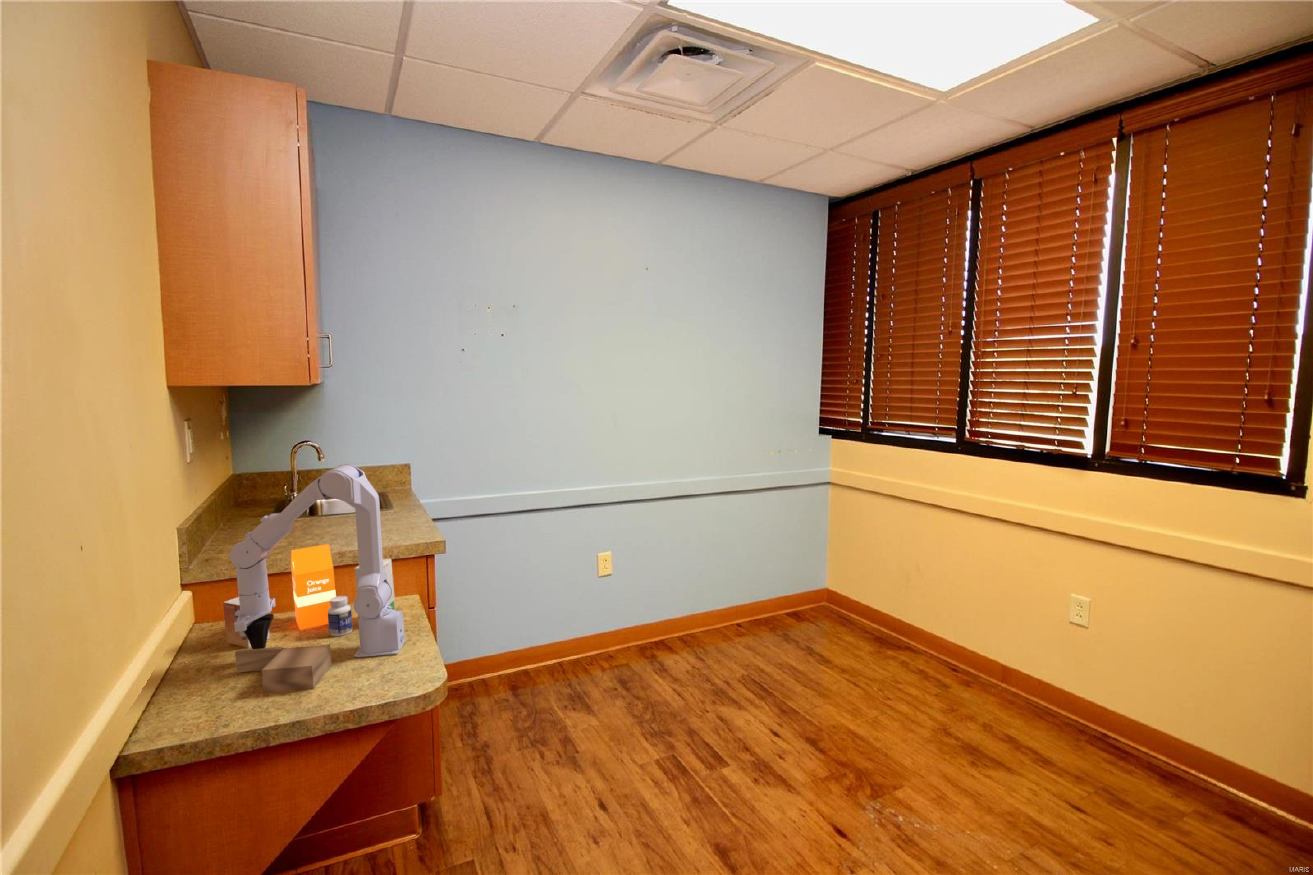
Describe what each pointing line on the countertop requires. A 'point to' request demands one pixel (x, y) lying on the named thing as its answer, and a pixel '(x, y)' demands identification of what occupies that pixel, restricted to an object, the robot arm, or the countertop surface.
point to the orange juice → (312, 585)
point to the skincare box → (388, 569)
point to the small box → (230, 619)
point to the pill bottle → (339, 616)
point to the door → (255, 658)
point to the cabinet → (296, 669)
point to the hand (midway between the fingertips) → (259, 649)
